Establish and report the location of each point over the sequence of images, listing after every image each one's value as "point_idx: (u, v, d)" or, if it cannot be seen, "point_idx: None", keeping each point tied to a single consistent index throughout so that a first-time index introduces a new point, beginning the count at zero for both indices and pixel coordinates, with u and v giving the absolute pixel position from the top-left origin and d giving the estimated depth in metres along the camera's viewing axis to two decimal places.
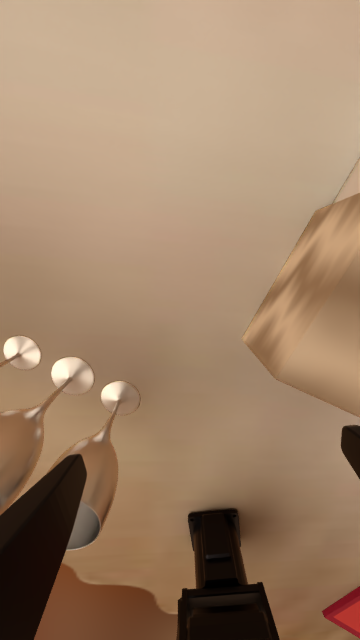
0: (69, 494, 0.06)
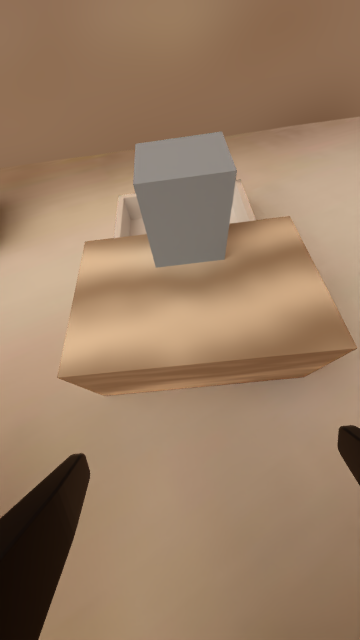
0: (72, 494, 0.06)
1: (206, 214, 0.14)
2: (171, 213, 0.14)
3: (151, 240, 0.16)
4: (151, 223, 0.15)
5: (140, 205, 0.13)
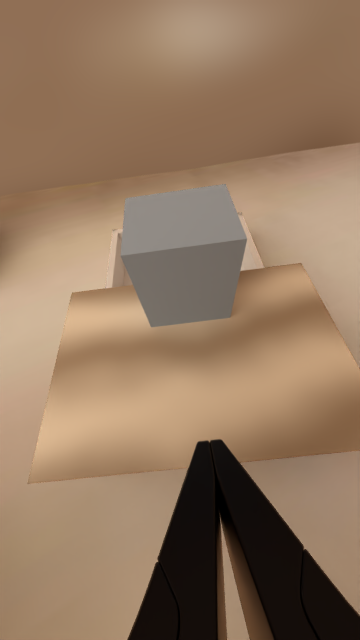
0: None
1: (209, 280, 0.12)
2: (168, 280, 0.12)
3: (145, 304, 0.13)
4: (144, 290, 0.12)
5: (130, 275, 0.11)
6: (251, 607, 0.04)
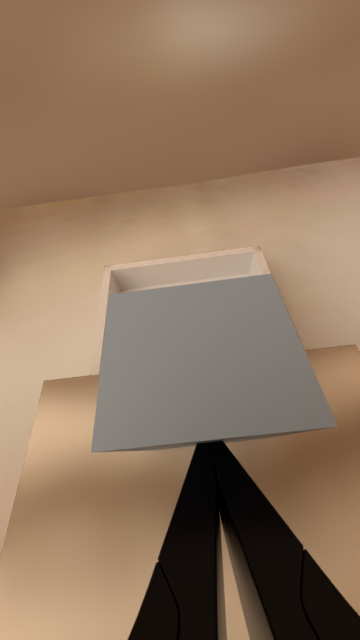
0: None
1: (248, 438, 0.07)
2: (179, 445, 0.07)
3: (141, 450, 0.09)
4: None
5: (112, 451, 0.06)
6: (251, 607, 0.04)
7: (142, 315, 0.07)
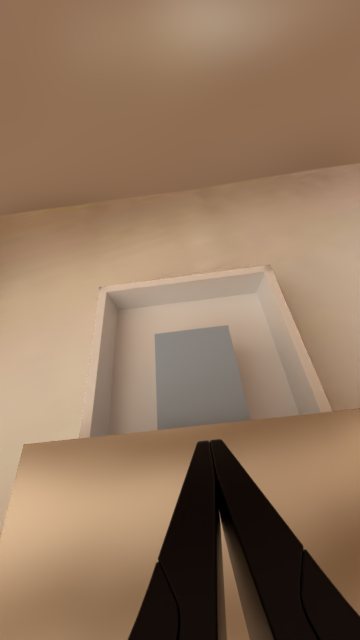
0: None
1: (212, 357, 0.16)
2: (180, 355, 0.16)
3: (159, 384, 0.15)
4: (162, 364, 0.16)
5: (155, 348, 0.16)
6: (251, 607, 0.04)
7: None
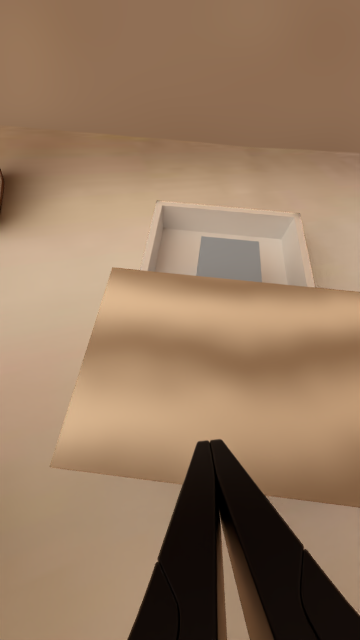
0: None
1: (243, 258, 0.21)
2: (219, 253, 0.21)
3: (201, 266, 0.20)
4: (204, 256, 0.21)
5: (201, 245, 0.21)
6: (251, 607, 0.04)
7: None
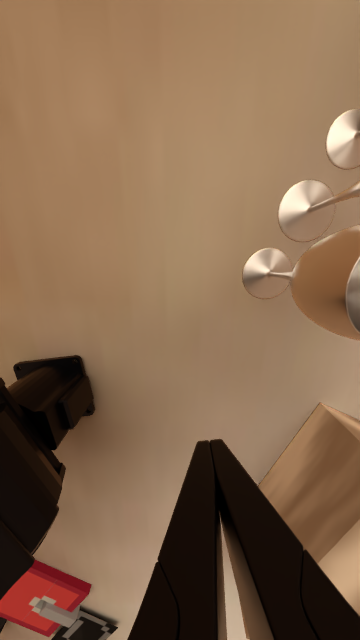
0: None
1: None
2: None
3: None
4: None
5: None
6: (251, 607, 0.04)
7: None
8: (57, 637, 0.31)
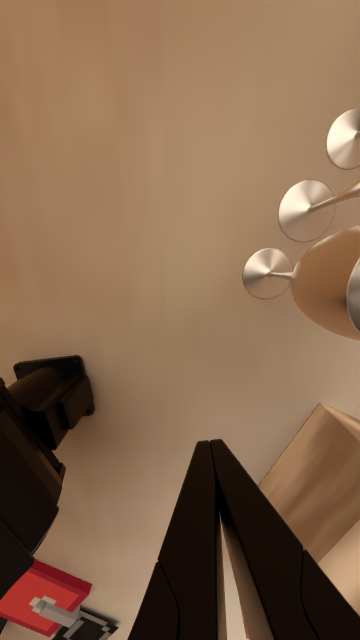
0: None
1: None
2: None
3: None
4: None
5: None
6: (251, 607, 0.04)
7: None
8: (57, 637, 0.31)
